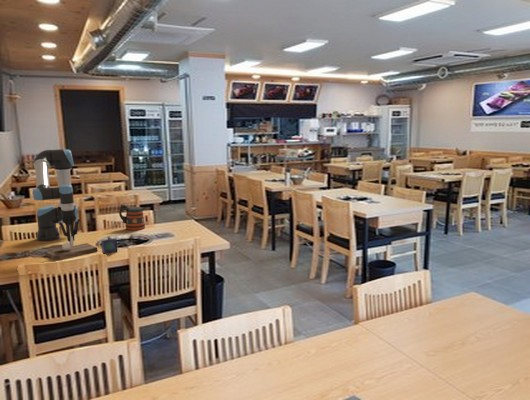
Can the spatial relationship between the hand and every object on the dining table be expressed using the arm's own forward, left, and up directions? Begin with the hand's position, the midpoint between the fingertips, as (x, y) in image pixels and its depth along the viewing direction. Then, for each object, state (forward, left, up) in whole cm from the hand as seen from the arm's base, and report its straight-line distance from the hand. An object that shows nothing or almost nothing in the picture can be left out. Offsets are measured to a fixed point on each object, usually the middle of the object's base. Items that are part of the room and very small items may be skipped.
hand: (71, 246), depth 261 cm
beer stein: (-33, +60, -5) cm, 69 cm away
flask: (+17, +17, -5) cm, 24 cm away
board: (0, 0, -5) cm, 5 cm away
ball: (0, -3, 0) cm, 3 cm away
